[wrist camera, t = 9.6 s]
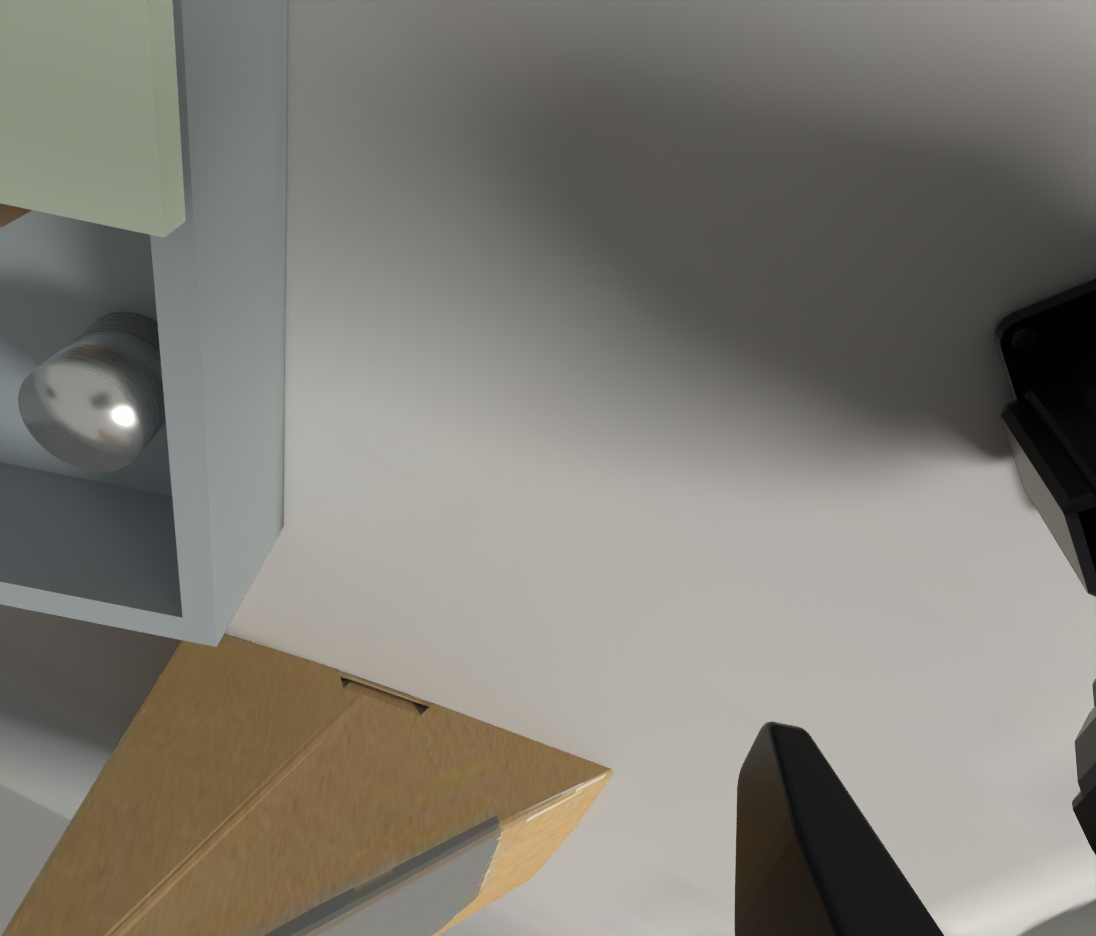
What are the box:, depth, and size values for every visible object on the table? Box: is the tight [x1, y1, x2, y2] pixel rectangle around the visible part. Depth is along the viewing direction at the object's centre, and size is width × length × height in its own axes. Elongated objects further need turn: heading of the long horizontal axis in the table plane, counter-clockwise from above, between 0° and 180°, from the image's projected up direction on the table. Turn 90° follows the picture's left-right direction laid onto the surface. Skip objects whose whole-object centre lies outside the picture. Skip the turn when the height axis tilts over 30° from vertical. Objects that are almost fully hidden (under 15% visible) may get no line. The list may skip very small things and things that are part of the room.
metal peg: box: [18, 312, 166, 472], centre depth 21 cm, size 3×3×3 cm
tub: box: [0, 0, 288, 647], centre depth 19 cm, size 16×10×5 cm, turn 170°
